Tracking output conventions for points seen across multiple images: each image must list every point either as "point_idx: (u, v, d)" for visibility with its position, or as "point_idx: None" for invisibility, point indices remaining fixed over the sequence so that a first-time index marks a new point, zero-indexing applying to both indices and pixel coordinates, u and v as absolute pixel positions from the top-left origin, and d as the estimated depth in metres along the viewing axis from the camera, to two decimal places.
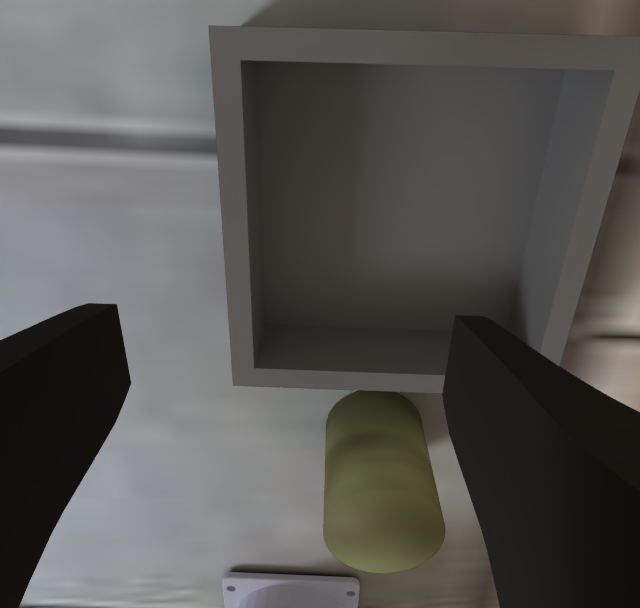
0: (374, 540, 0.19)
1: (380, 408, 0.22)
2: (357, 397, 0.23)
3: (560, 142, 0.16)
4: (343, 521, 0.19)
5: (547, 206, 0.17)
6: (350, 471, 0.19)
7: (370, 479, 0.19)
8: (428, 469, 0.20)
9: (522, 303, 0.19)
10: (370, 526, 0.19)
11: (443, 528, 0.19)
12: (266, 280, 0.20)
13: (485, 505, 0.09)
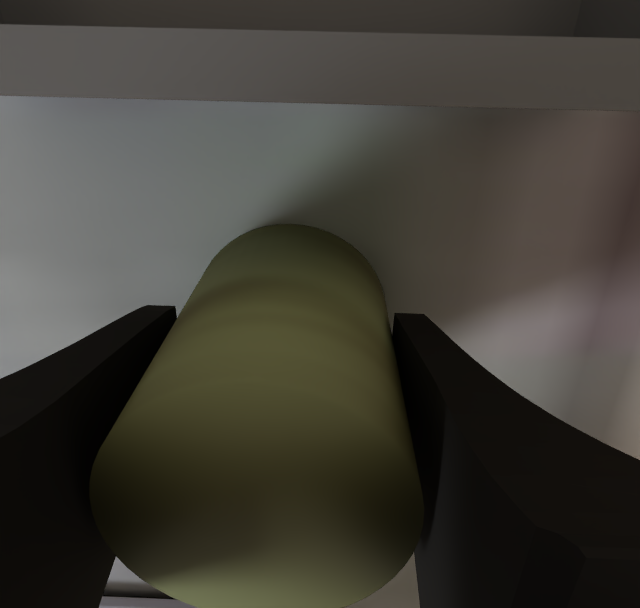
0: (232, 536, 0.07)
1: (287, 246, 0.10)
2: (247, 238, 0.11)
3: None
4: (138, 482, 0.07)
5: None
6: (172, 352, 0.07)
7: (207, 359, 0.06)
8: (385, 359, 0.08)
9: None
10: (217, 497, 0.07)
11: (418, 501, 0.07)
12: None
13: None
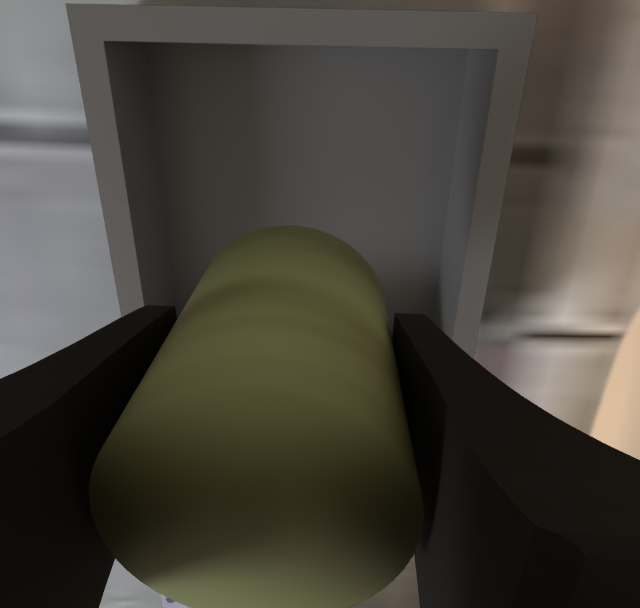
0: (232, 538, 0.07)
1: (287, 248, 0.10)
2: (247, 239, 0.11)
3: (464, 130, 0.16)
4: (138, 485, 0.07)
5: (456, 198, 0.16)
6: (171, 354, 0.07)
7: (207, 362, 0.06)
8: (385, 362, 0.08)
9: (440, 300, 0.18)
10: (216, 501, 0.07)
11: (418, 505, 0.07)
12: (176, 278, 0.19)
13: None
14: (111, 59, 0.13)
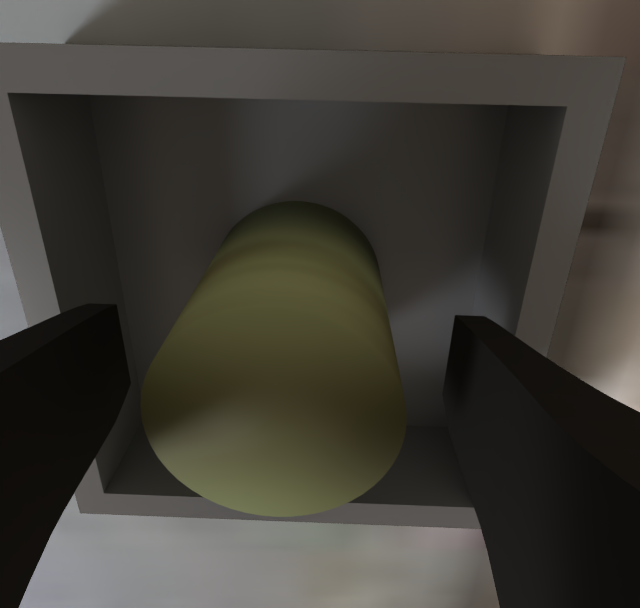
0: (253, 439, 0.09)
1: (295, 217, 0.12)
2: (260, 212, 0.13)
3: (504, 197, 0.12)
4: (180, 392, 0.08)
5: (491, 281, 0.13)
6: (204, 293, 0.09)
7: (235, 293, 0.08)
8: (377, 304, 0.10)
9: None
10: (241, 405, 0.09)
11: (402, 408, 0.08)
12: (138, 364, 0.15)
13: (485, 505, 0.09)
14: (23, 115, 0.10)
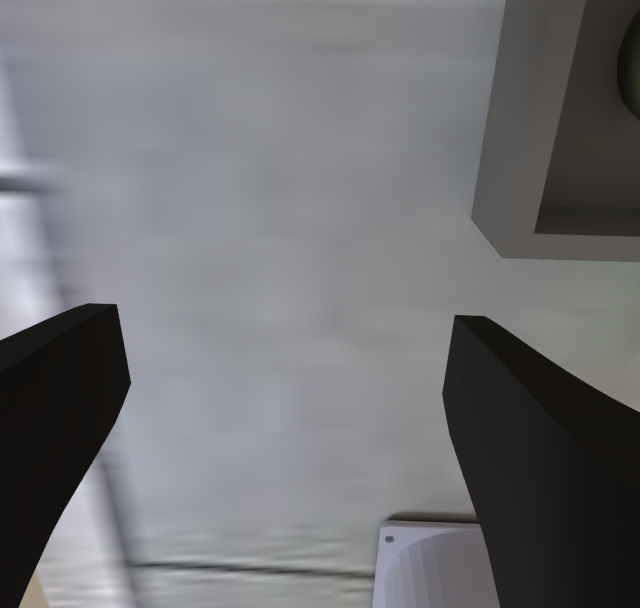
0: None
1: None
2: None
3: None
4: None
5: None
6: None
7: None
8: None
9: None
10: None
11: None
12: None
13: (485, 505, 0.09)
14: None
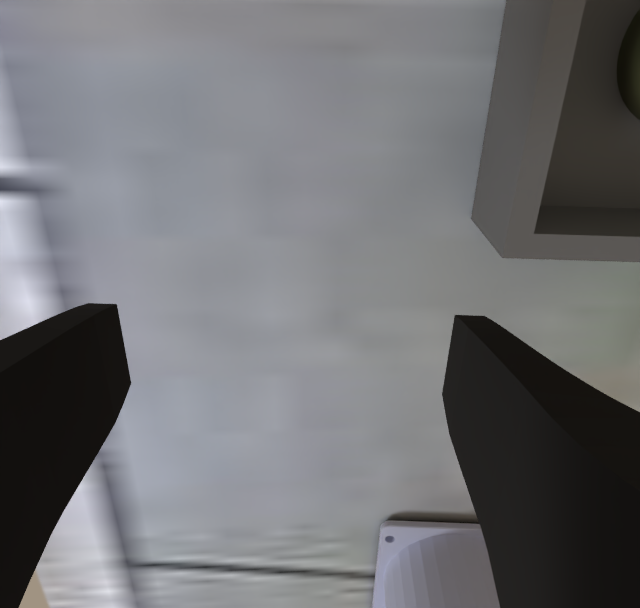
0: None
1: None
2: None
3: None
4: None
5: None
6: None
7: None
8: None
9: None
10: None
11: None
12: None
13: (485, 505, 0.09)
14: None
